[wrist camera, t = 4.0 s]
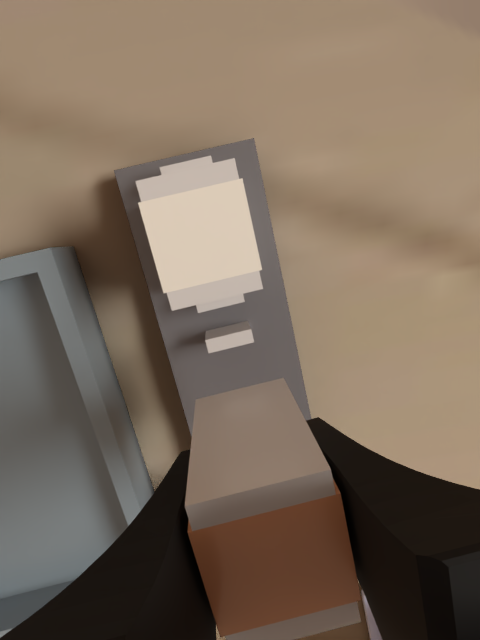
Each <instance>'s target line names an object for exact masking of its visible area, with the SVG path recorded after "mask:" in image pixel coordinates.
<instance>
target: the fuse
mask: <svg viewBox="0 0 480 640" xmlns="http://www.w3.org/2000/svg"><path fill="white" fill-rule="evenodd" d="M135 182H136V185H137V189H138V192H139V196H140V199H141V202H139V203H138V205H139V208H140V212H141V215H142V219H143V222H144V226H145V230H146V233H147V237H148V240H149V244H150V247H151V251H152V254H153V258H154V261H155V265H156V269H157V272H158V276H159V279H160V283H161V286H162V290H163V293H167V296H168V299H169V303H170V306H171V310H172V311H174V310H178V309H182V308H186V307H190V306H194V305H198V304H203V303H207V302H211V301H215V300H219V299H223V298H227V297H232V296H236V295H240V294H244V293H248V292H252V291H256V290H261V289H263V286H262V281H261V277H260V272H259V270H262V266H261V262H260V257H259V253H258V248H257V243H256V239H255V234H254V229H253V225H252V220H251V216H250V211H249V206H248V202H247V197H246V192H245V188H244V183H243V178H241V179H239V176H238V171H237V167H236V162H235V158H233V159H228V160H224V161H220V162H215V163H211V164H207V165H202V166H198V167H194V168H190V169H185V170H181V171H177V172H172V173H168V174H164V175H159V176H155V177H151V178H147V179H142V180H138V181H135Z"/></svg>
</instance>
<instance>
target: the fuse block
mask: <svg viewBox="0 0 480 640" xmlns="http://www.w3.org/2000/svg"><path fill="white" fill-rule="evenodd" d="M233 158H235V162H236V167H237V171H238V176H239V179H241V178H243V183H244V188H245V192H246V197H247V202H248V206H249V211H250V216H251V220H252V225H253V229H254V234H255V239H256V243H257V248H258V253H259V257H260V262H261V266H262V270H259V272H260V277H261V281H262V286H263V289H261V290H256V291H252V292H248V293H244V294H240V295H236V296H232V297H227V298H223V299H219V300H215V301H211V302H207V303H203V304H198V305H194V306H190V307H186V308H182V309H178V310H174V311H172V310H171V306H170V303H169V299H168V296H167V293H163V290H162V286H161V283H160V279H159V276H158V272H157V269H156V265H155V261H154V258H153V254H152V251H151V247H150V244H149V240H148V237H147V233H146V230H145V226H144V222H143V219H142V215H141V212H140V208H139V205H138V203H139V202H141V199H140V196H139V192H138V189H137V185H136V182H135V181H138V180H142V179H147V178H151V177H155V176H159V175H164V174H168V173H172V172H177V171H181V170H185V169H190V168H194V167H198V166H202V165H207V164H211V163H215V162H220V161H224V160H228V159H233ZM114 172H115V176H116V179H117V183H118V186H119V189H120V193H121V196H122V200H123V203H124V207H125V210H126V214H127V217H128V220H129V224H130V227H131V231H132V234H133V238H134V241H135V244H136V248H137V251H138V255H139V258H140V262H141V265H142V269H143V272H144V275H145V279H146V282H147V286H148V289H149V293H150V296H151V299H152V303H153V306H154V310H155V313H156V317H157V320H158V323H159V327H160V330H161V334H162V337H163V341H164V344H165V348H166V351H167V354H168V358H169V361H170V365H171V368H172V372H173V375H174V378H175V382H176V385H177V389H178V392H179V396H180V399H181V403H182V406H183V409H184V413H185V416H186V420H187V423H188V427H189V430H190V433H191V437H192V430H193V421H194V411H195V401H196V399H200V398H204V397H208V396H212V395H216V394H220V393H224V392H228V391H232V390H236V389H240V388H244V387H248V386H252V385H256V384H260V383H264V382H269V381H273V380H277V379H281V378H284V380H285V382H286V383H287V385H288V387H289V389H290V391H291V393H292V395H293V397H294V399H295V401H296V403H297V405H298V407H299V409H300V411H301V412H302V414H303V416H304V418H305V420H310V419H311V415H310V410H309V405H308V400H307V396H306V391H305V386H304V381H303V376H302V371H301V366H300V361H299V356H298V351H297V347H296V342H295V337H294V332H293V327H292V322H291V317H290V312H289V307H288V302H287V298H286V293H285V288H284V283H283V278H282V273H281V268H280V263H279V258H278V254H277V249H276V244H275V239H274V234H273V229H272V224H271V219H270V214H269V209H268V205H267V200H266V195H265V190H264V185H263V180H262V175H261V170H260V165H259V161H258V156H257V151H256V146H255V141H254V138H252V139H248V140H244V141H239V142H235V143H231V144H226V145H222V146H218V147H213V148H209V149H205V150H201V151H196V152H192V153H188V154H183V155H179V156H175V157H170V158H166V159H162V160H157V161H153V162H149V163H144V164H140V165H136V166H131V167H127V168H123V169H118V170H114Z"/></svg>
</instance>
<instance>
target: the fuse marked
mask: <svg viewBox="0 0 480 640" xmlns="http://www.w3.org/2000/svg"><path fill="white" fill-rule="evenodd" d="M185 509H186V512H187V516H188V519H189V520H188V536H189V539H190V542H191V545H192V548H193V552H194V555H195V558H196V561H197V564H198V567H199V571H200V574H201V577H202V580H203V583H204V587H205V590H206V593H207V596H208V599H209V602H210V606H211V609H212V612H213V615H214V618H215V622H216V625H217V628H218V631H219V634H220V637H223V636H225V638H226V640H295V639H299V638H303V637H307V636H311V635H314V634H318V633H322V632H326V631H330V630H333V629H337V628H341V627H345V626H349V625H352V624H356V623H360V622H361V619H360V614H359V609H358V604H357V601H360V600H361V595H360V590H359V585H358V580H357V575H356V570H355V565H354V559H353V554H352V549H351V544H350V539H349V534H348V529H347V523H346V518H345V513H344V508H343V503H342V498H341V493H340V491H339V489H338V487H337V485H336V483H335V481H334V479H333V477H332V472H331V469H330V467H329V465H328V463H327V461H326V459H325V457H324V455H323V453H322V451H321V449H320V447H319V445H318V443H317V441H316V440H315V438H314V436H313V434H312V432H311V430H310V428H309V426H308V424H307V422H306V420H305V418H304V416H303V414H302V412H301V411H300V409H299V407H298V405H297V403H296V401H295V399H294V397H293V395H292V393H291V391H290V389H289V387H288V385H287V383H286V382H285V380H284V378H281V379H277V380H273V381H269V382H264V383H260V384H256V385H252V386H248V387H244V388H240V389H236V390H232V391H228V392H224V393H220V394H216V395H212V396H208V397H204V398H200V399H196V401H195V411H194V421H193V430H192V440H191V450H190V459H189V469H188V479H187V488H186V498H185Z"/></svg>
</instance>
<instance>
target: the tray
mask: <svg viewBox="0 0 480 640" xmlns="http://www.w3.org/2000/svg"><path fill="white" fill-rule="evenodd" d="M153 494H154V489H153V486H152V483H151V480H150V477H149V474H148V471H147V468H146V465H145V462H144V459H143V456H142V453H141V450H140V447H139V444H138V441H137V437H136V434H135V431H134V428H133V425H132V422H131V419H130V416H129V413H128V410H127V407H126V404H125V401H124V398H123V395H122V392H121V389H120V386H119V383H118V380H117V377H116V374H115V371H114V368H113V365H112V362H111V359H110V356H109V353H108V350H107V347H106V344H105V340H104V337H103V334H102V331H101V328H100V325H99V322H98V319H97V316H96V313H95V310H94V307H93V304H92V301H91V298H90V295H89V292H88V289H87V286H86V283H85V280H84V277H83V274H82V271H81V268H80V265H79V262H78V259H77V256H76V253H75V250H74V246H70V247H51V248H46V249H42V250H38V251H34V252H29V253H25V254H21V255H17V256H12V257H8V258H4V259H0V638H1V637H2V636H3V635H5V634H6V633H8V632H9V631H10V630H12V629H13V628H15V627H16V626H17V625H19V624H20V623H22V622H23V621H24V620H26V619H27V618H29V617H30V616H31V615H32V614H34V613H35V612H36V611H38V610H39V609H40V608H42V607H43V606H44V605H45V604H47V603H48V602H49V601H50V600H52V599H53V598H54V597H55V596H57V595H58V594H59V593H60V592H61V591H63V590H64V589H65V588H66V587H67V586H68V585H70V584H71V583H72V582H73V581H74V580H75V579H76V578H78V577H79V576H80V575H81V574H82V573H83V572H84V571H85V570H86V569H87V568H88V567H89V566H90V565H91V564H92V563H93V562H95V561H96V560H97V559H98V558H99V557H100V556H101V555H102V554H103V553H104V552H105V551H106V550H107V549H108V548H109V547H110V546H111V545H112V544H113V543H114V542H115V540H116V539H117V538H118V537H119V536H120V535H121V534H122V533H123V532H124V531H125V529H126V528H127V527H128V526H129V525H130V524H131V522H132V521H133V520H134V519H135V518H136V516H137V515H138V514H139V512H140V511H141V510H142V508H143V507H144V506H145V504H146V503H147V502H148V500H149V499H150V498H151V496H152V495H153Z"/></svg>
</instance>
